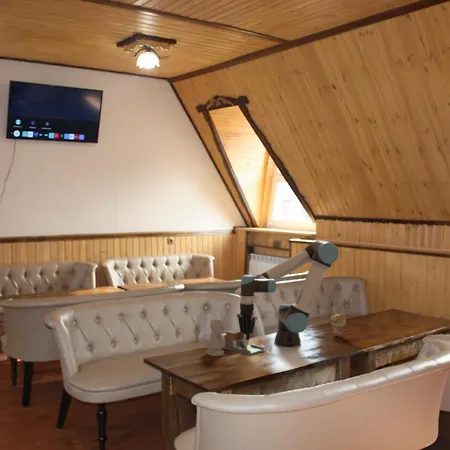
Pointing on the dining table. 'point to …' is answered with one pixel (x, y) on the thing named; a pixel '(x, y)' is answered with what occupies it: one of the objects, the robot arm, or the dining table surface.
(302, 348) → the dining table surface
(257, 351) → the vise
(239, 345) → the slide jaw
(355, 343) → the dining table surface
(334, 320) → the toy
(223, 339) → the figurine
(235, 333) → the block
